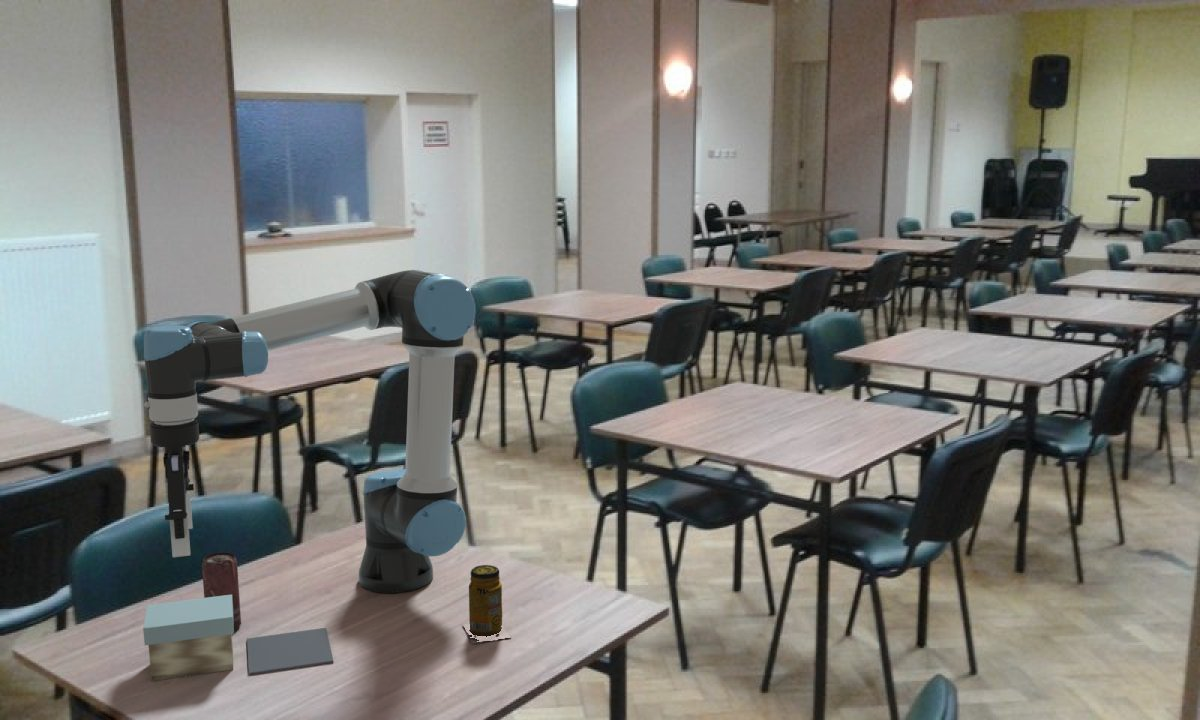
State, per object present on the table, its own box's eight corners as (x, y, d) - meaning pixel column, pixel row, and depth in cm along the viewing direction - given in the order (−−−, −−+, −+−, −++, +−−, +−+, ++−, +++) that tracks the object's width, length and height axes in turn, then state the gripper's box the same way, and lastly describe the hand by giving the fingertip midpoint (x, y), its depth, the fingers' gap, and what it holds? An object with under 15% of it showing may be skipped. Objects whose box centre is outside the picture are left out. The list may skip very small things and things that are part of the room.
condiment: (499, 620, 205) (498, 560, 203) (511, 639, 198) (510, 576, 195) (461, 626, 203) (460, 565, 201) (472, 645, 195) (470, 582, 193)
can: (231, 636, 198) (226, 564, 196) (200, 633, 200) (194, 561, 197) (248, 623, 204) (244, 552, 202) (218, 620, 205) (213, 550, 203)
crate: (232, 649, 193) (230, 612, 192) (233, 669, 186) (230, 631, 184) (154, 660, 189) (151, 623, 188) (151, 681, 182) (148, 642, 180)
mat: (326, 629, 201) (326, 627, 201) (333, 662, 188) (333, 660, 188) (247, 640, 197) (246, 638, 197) (249, 675, 184) (248, 672, 184)
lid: (234, 623, 193) (232, 594, 192) (234, 647, 184) (232, 616, 183) (149, 634, 189) (147, 605, 188) (145, 659, 180) (143, 628, 179)
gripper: (154, 405, 190) (162, 520, 194) (144, 440, 166) (154, 570, 170) (199, 402, 192) (207, 516, 196) (196, 436, 169) (205, 565, 173)
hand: (183, 542), depth 183 cm, fingers open, 13 cm apart
